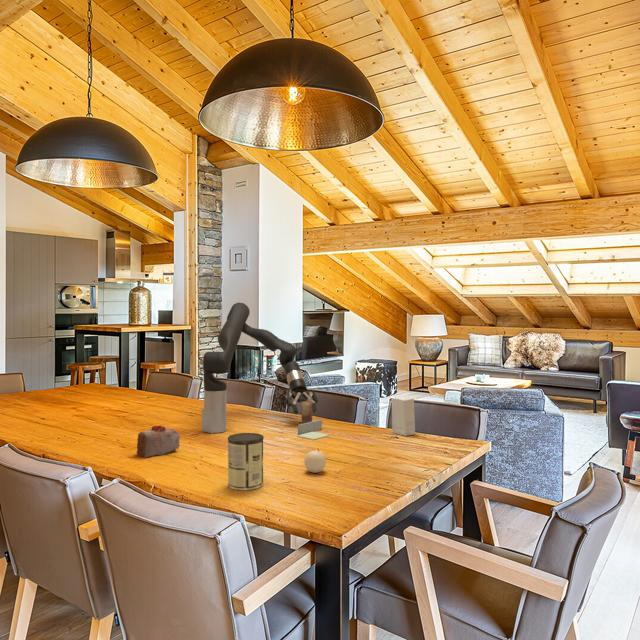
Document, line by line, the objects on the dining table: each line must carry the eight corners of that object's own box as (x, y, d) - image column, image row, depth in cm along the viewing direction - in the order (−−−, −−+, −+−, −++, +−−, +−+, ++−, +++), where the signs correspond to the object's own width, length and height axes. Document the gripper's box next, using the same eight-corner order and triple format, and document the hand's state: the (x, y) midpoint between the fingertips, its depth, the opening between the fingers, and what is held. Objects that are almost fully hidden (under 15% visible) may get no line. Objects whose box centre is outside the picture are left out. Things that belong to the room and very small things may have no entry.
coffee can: (237, 478, 164) (238, 431, 164) (269, 481, 161) (269, 434, 160) (220, 488, 154) (221, 438, 154) (253, 492, 151) (253, 442, 151)
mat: (313, 440, 213) (313, 439, 213) (296, 436, 219) (296, 435, 219) (329, 435, 221) (329, 434, 221) (312, 432, 226) (312, 431, 226)
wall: (300, 434, 222) (300, 425, 221) (297, 434, 222) (297, 424, 222) (321, 429, 232) (321, 420, 232) (319, 428, 233) (319, 419, 233)
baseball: (325, 468, 174) (325, 447, 174) (326, 475, 167) (326, 453, 167) (304, 468, 174) (304, 447, 174) (304, 475, 167) (304, 453, 167)
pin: (307, 428, 233) (307, 403, 233) (299, 427, 236) (299, 402, 236) (314, 427, 237) (314, 402, 237) (306, 425, 240) (306, 400, 239)
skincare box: (415, 434, 223) (415, 398, 223) (404, 436, 220) (404, 399, 220) (401, 430, 230) (401, 396, 230) (390, 432, 227) (391, 397, 227)
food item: (168, 448, 200) (168, 421, 199) (181, 451, 194) (181, 424, 194) (134, 455, 189) (134, 427, 189) (147, 459, 184) (147, 430, 184)
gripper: (308, 386, 253) (317, 416, 243) (279, 388, 247) (288, 418, 237) (313, 377, 248) (323, 407, 238) (284, 378, 242) (293, 408, 232)
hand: (305, 412), depth 237 cm, fingers open, 8 cm apart
